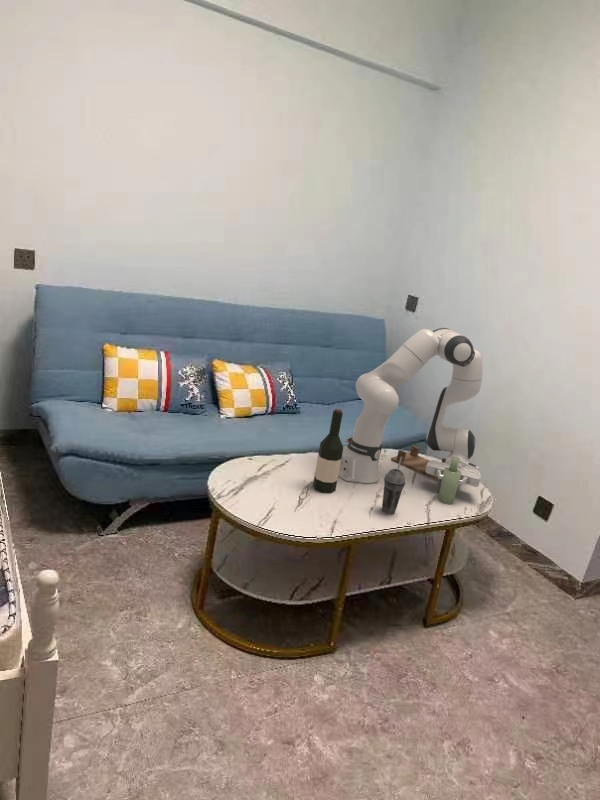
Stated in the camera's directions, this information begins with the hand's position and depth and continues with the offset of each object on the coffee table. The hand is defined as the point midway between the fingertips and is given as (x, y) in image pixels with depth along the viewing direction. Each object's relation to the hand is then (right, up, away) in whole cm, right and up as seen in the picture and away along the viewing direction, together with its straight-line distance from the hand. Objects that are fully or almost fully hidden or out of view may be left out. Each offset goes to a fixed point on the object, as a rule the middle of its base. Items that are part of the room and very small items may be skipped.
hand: (450, 480), depth 227 cm
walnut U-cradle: (-4, +1, +33) cm, 33 cm away
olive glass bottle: (-1, -8, +3) cm, 9 cm away
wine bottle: (-46, -3, -3) cm, 46 cm away
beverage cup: (-25, -9, -13) cm, 29 cm away
